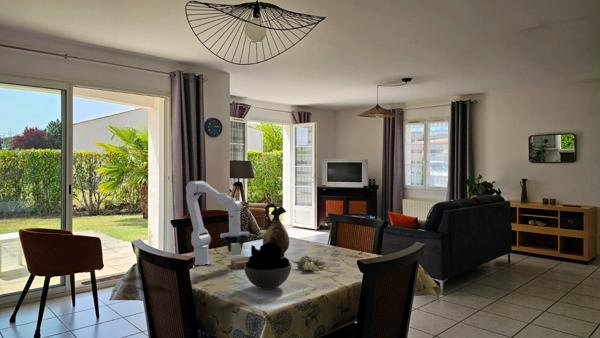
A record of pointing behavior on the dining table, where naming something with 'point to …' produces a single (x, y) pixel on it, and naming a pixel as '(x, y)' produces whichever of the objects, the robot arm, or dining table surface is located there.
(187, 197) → the robot arm
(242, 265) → the base block
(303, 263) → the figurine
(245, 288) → the dining table surface
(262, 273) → the coal bowl
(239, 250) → the cube
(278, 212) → the ceramic jug
